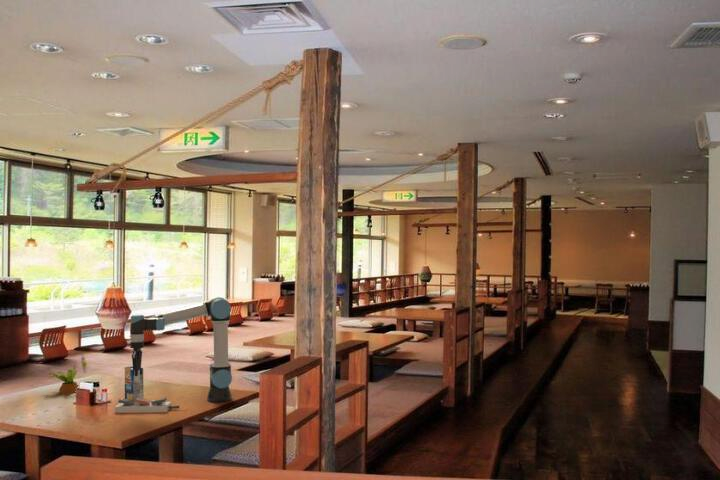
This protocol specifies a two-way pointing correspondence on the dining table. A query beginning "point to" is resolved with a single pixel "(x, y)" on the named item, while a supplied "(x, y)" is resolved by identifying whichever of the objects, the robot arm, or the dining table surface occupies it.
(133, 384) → the beverage box
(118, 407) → the power strip
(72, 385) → the decorative plant
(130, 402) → the rocker
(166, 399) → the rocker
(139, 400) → the rocker
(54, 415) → the dining table surface
